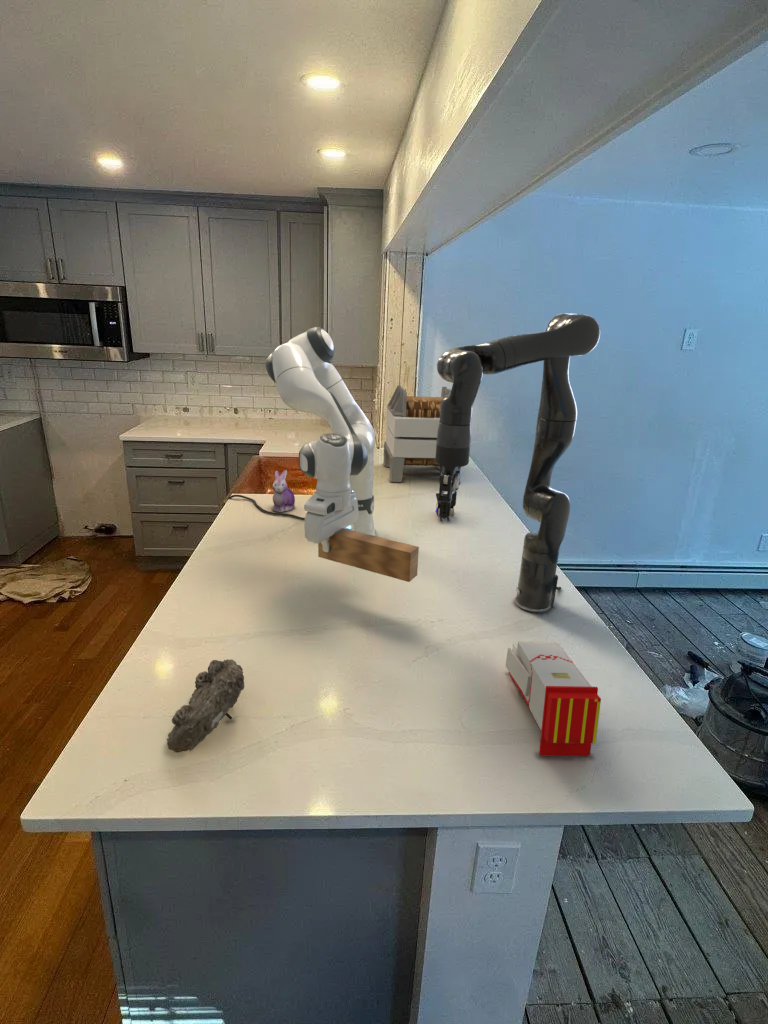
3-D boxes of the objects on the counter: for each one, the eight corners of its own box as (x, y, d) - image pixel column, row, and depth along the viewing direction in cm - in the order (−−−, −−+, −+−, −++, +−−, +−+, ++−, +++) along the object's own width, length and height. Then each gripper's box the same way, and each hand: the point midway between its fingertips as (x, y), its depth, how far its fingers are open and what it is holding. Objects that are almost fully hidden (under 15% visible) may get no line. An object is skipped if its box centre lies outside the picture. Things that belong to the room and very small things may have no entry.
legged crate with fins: (382, 463, 289) (386, 382, 275) (445, 464, 293) (451, 384, 279) (390, 482, 257) (394, 392, 243) (460, 483, 261) (468, 394, 247)
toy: (554, 624, 127) (610, 694, 97) (548, 679, 130) (602, 763, 100) (500, 623, 126) (541, 693, 97) (496, 678, 129) (534, 763, 100)
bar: (318, 556, 151) (318, 529, 148) (327, 551, 155) (327, 524, 152) (409, 582, 139) (410, 552, 136) (417, 575, 143) (418, 546, 140)
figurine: (275, 514, 213) (275, 475, 208) (268, 505, 221) (266, 468, 216) (299, 511, 217) (299, 473, 212) (291, 502, 225) (290, 466, 220)
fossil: (192, 660, 117) (244, 628, 112) (224, 691, 120) (276, 661, 115) (142, 746, 98) (202, 712, 93) (182, 779, 101) (242, 748, 96)
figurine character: (454, 527, 212) (449, 509, 225) (456, 508, 209) (451, 492, 222) (436, 526, 212) (433, 508, 225) (438, 508, 208) (434, 491, 222)
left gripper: (345, 485, 156) (344, 532, 160) (299, 506, 139) (300, 557, 144) (364, 490, 153) (363, 537, 158) (320, 511, 136) (320, 563, 141)
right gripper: (465, 451, 119) (458, 523, 124) (474, 438, 132) (468, 504, 137) (430, 448, 121) (425, 519, 126) (442, 435, 133) (437, 500, 139)
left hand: (333, 547), depth 150 cm, fingers closed on bar, 4 cm apart
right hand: (447, 511), depth 132 cm, fingers open, 8 cm apart
